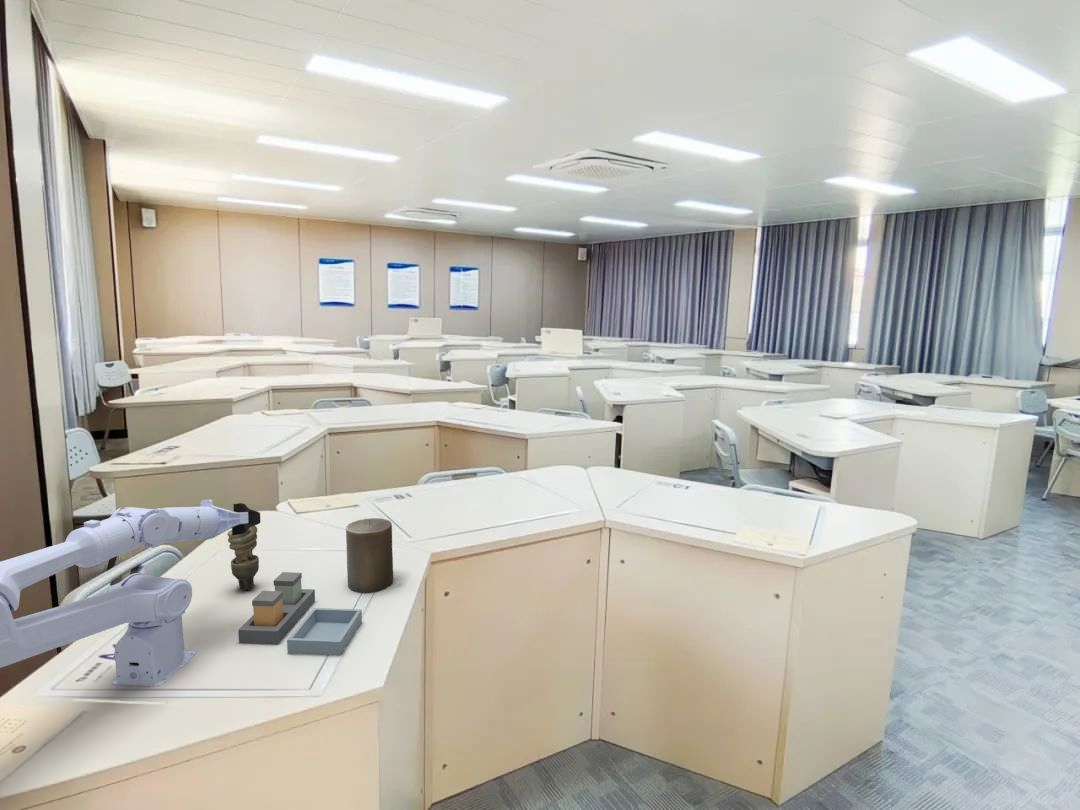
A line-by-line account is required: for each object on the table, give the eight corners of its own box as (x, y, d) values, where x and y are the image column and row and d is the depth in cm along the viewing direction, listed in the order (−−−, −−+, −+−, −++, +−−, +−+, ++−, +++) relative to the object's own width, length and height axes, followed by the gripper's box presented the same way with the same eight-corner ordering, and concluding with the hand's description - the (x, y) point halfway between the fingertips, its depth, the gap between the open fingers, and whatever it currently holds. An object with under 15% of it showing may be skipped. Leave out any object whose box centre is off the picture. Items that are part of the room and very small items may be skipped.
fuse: (294, 615, 112) (293, 581, 111) (275, 614, 113) (273, 580, 112) (302, 605, 116) (301, 572, 115) (284, 605, 116) (282, 572, 115)
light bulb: (247, 599, 119) (244, 529, 117) (224, 596, 120) (220, 526, 118) (265, 587, 125) (262, 520, 123) (243, 584, 126) (240, 517, 124)
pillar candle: (401, 586, 127) (400, 520, 125) (359, 599, 120) (358, 530, 118) (379, 572, 134) (378, 509, 132) (339, 584, 127) (337, 518, 125)
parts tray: (340, 658, 100) (340, 641, 99) (287, 656, 100) (286, 639, 99) (362, 624, 111) (361, 609, 110) (314, 622, 111) (313, 607, 111)
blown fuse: (274, 637, 105) (273, 601, 104) (253, 636, 105) (252, 600, 104) (284, 626, 108) (282, 591, 107) (264, 625, 108) (262, 590, 107)
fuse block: (278, 647, 103) (277, 631, 102) (239, 645, 103) (238, 629, 102) (315, 603, 118) (314, 589, 118) (281, 602, 118) (280, 588, 118)
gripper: (222, 495, 99) (273, 495, 112) (150, 505, 102) (208, 503, 115) (223, 537, 98) (274, 532, 111) (150, 546, 100) (209, 539, 114)
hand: (241, 520), depth 113 cm, fingers open, 7 cm apart
